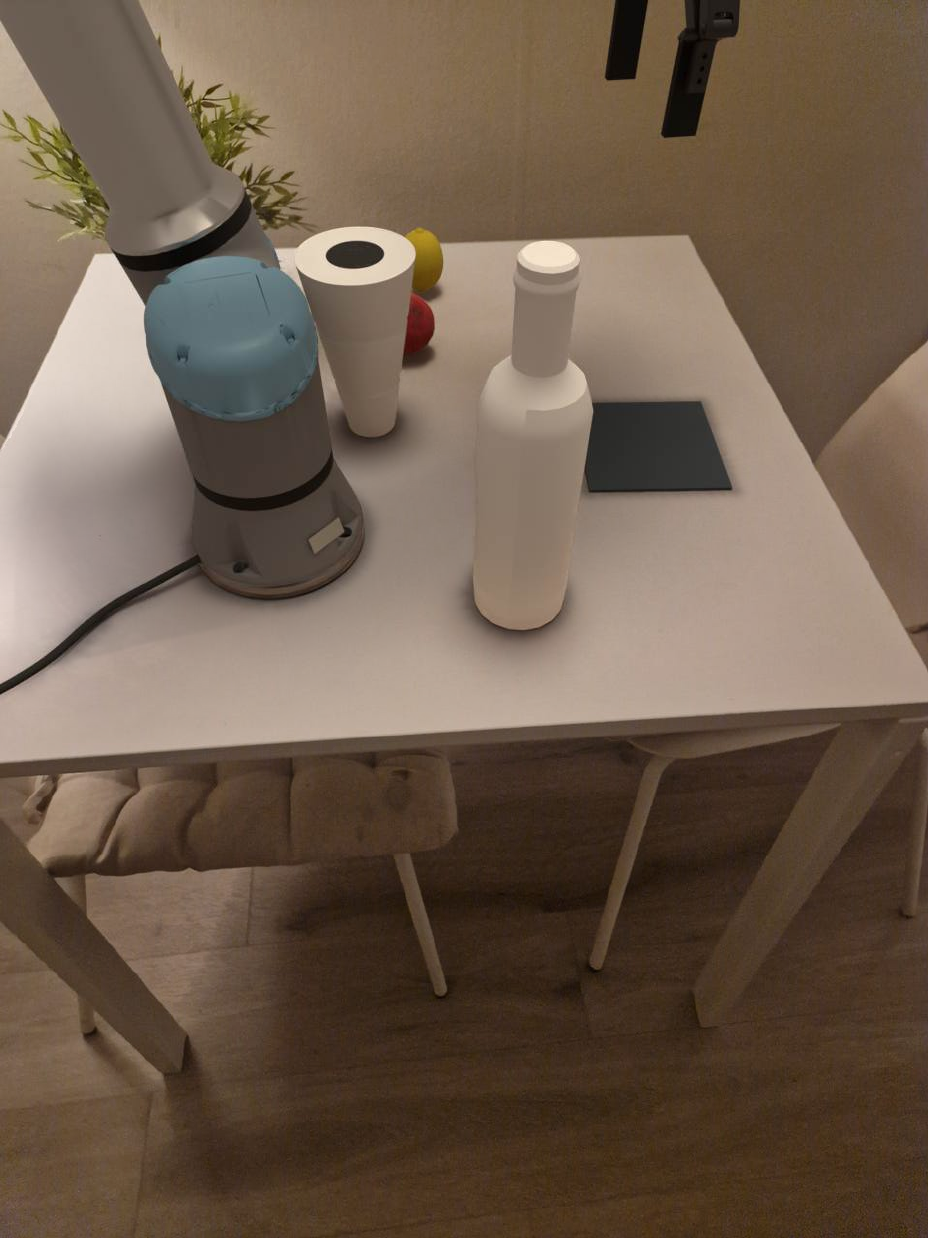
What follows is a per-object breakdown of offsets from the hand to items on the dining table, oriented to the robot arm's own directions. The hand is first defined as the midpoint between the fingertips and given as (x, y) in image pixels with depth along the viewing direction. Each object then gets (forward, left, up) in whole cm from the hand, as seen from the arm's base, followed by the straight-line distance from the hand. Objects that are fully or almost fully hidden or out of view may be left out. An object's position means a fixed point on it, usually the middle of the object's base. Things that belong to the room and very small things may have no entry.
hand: (647, 105), depth 68 cm
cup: (-26, +4, -27) cm, 38 cm away
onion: (-17, +14, -27) cm, 35 cm away
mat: (-2, -12, -27) cm, 30 cm away
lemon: (-10, +26, -27) cm, 39 cm away
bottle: (-24, -24, -27) cm, 44 cm away
